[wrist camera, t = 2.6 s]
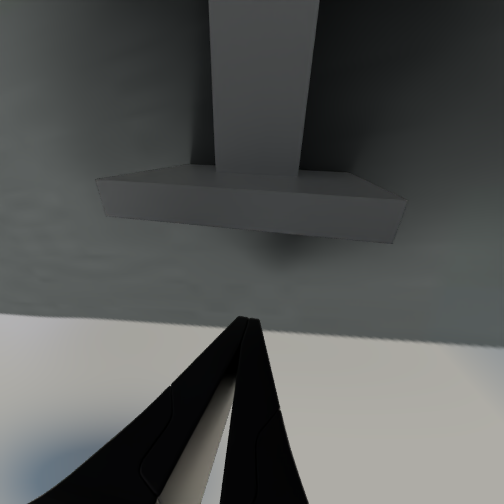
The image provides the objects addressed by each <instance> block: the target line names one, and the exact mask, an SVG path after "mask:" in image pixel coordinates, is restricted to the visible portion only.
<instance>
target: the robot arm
mask: <svg viewBox="0 0 504 504" xmlns="http://www.w3.org/2000/svg"><path fill="white" fill-rule="evenodd" d="M232 402H233V406H232V413H231V421H230V429H229V436H228V445H227V453H226V459H225V467H224V475H223V483H222V490H221V497H220V504H309V503H308V500H307V497H306V494H305V491H304V488H303V486H302V483H301V479H300V477H299V474H298V470H297V468H296V464H295V461H294V458H293V455H292V451H291V448H290V445H289V441H288V437H287V433H286V430H285V426H284V422H283V417H282V413H281V410H280V405H279V401H278V396H277V392H276V388H275V383H274V379H273V375H272V371H271V367H270V362H269V358H268V353H267V349H266V345H265V341H264V336H263V332H262V328H261V323H260V320H259V319H255V318H248V317H243V316H238V317H237V318H236V319H235V320H234V321H233V322H232V323H231V324H230V325H229V326H228V327H227V328H226V329H225V330H224V331H223V332H222V333H221V334H220V335H219V336H218V337H217V338H216V339H215V340H214V341H213V342H212V343H211V344H210V345H209V346H208V347H207V348H206V349H205V350H204V351H203V352H202V354H200V355H199V356H198V357H197V358H196V359H195V360H194V362H193V363H191V365H190V366H189V367H188V368H187V369H186V370H185V371H184V372H183V373H182V374H181V375H180V376H179V377H178V378H177V379H176V380H175V381H174V382H173V383H172V384H171V386H169V387H168V388H167V389H166V390H165V391H164V392H163V393H162V394H161V395H160V396H159V397H158V398H157V399H156V400H155V401H154V402H153V403H151V404H150V405H149V406H148V407H147V408H146V409H145V410H144V411H143V412H142V413H141V414H140V415H139V416H138V417H136V418H135V419H134V420H133V421H132V422H131V423H130V424H129V425H127V426H126V427H125V428H124V429H123V430H122V431H120V432H119V433H118V434H117V435H116V436H115V437H113V438H112V439H111V440H110V441H109V442H107V443H106V444H105V445H104V446H103V447H102V448H100V449H99V450H98V451H97V452H96V453H95V454H93V455H92V456H91V457H90V458H89V459H88V460H86V461H85V462H84V463H83V464H82V465H80V467H78V468H77V469H76V470H75V471H74V472H72V473H71V474H70V475H69V476H67V477H66V478H65V479H64V480H62V481H61V482H60V483H58V484H57V485H56V486H54V487H53V488H51V489H50V490H49V491H47V492H46V493H44V494H43V495H41V496H40V497H38V498H36V499H35V500H33V501H31V502H30V503H28V504H201V500H202V498H203V494H204V491H205V488H206V485H207V482H208V478H209V475H210V472H211V469H212V466H213V462H214V459H215V456H216V453H217V449H218V446H219V443H220V440H221V437H222V434H223V431H224V427H225V424H226V421H227V418H228V415H229V411H230V408H231V405H232Z"/></svg>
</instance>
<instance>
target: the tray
mask: <svg viewBox="0 0 504 504" xmlns="http://www.w3.org/2000/svg"><path fill="white" fill-rule="evenodd" d="M208 1H209V25H210V49H211V72H212V96H213V120H214V144H215V165H197V164H186V165H180V166H174V167H168V168H161V169H155V170H149V171H143V172H137V173H130V174H124V175H118V176H112V177H106V178H99V179H95V180H96V184H97V187H98V191H99V194H100V198H101V201H102V204H103V208H104V211H105V215H106V216H109V217H119V218H130V219H140V220H150V221H160V222H171V223H181V224H191V225H202V226H212V227H222V228H233V229H243V230H253V231H264V232H274V233H284V234H294V235H305V236H315V237H325V238H336V239H346V240H356V241H367V242H377V243H387V244H393V241H394V238H395V235H396V233H397V230H398V227H399V225H400V222H401V219H402V216H403V214H404V211H405V208H406V205H407V203H408V200H406V199H404V198H402V197H400V196H398V195H395V194H393V193H391V192H389V191H387V190H385V189H383V188H381V187H379V186H376V185H374V184H372V183H370V182H368V181H366V180H364V179H362V178H360V177H358V176H355V175H353V174H351V173H349V172H330V171H311V170H299V162H300V154H301V146H302V138H303V130H304V122H305V114H306V106H307V98H308V90H309V82H310V74H311V66H312V58H313V50H314V42H315V34H316V25H317V17H318V9H319V1H320V0H208Z"/></svg>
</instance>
